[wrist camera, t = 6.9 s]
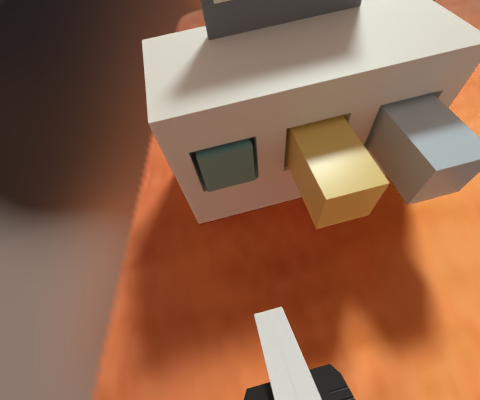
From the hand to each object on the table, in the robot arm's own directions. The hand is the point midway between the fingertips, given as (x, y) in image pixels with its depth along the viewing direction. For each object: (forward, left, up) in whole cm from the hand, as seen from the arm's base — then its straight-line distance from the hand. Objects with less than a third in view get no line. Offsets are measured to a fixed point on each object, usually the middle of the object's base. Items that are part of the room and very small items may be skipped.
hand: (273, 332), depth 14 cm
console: (+8, -16, -8) cm, 20 cm away
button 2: (-1, -18, -2) cm, 18 cm away
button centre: (+4, -12, -2) cm, 13 cm away
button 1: (+12, -10, -2) cm, 16 cm away
